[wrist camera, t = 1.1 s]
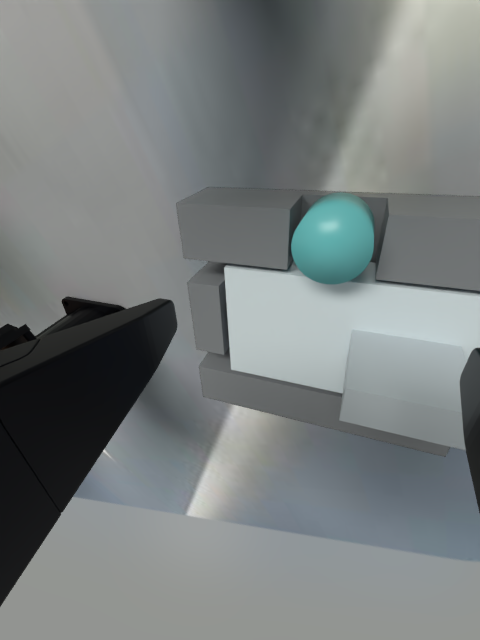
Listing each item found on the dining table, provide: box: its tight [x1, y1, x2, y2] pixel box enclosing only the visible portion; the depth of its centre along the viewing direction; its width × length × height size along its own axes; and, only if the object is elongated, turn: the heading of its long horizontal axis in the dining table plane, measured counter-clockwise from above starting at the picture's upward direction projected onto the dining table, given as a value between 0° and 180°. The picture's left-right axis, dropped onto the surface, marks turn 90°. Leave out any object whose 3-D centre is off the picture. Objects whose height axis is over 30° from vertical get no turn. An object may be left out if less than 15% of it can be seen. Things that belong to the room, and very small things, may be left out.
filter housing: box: [176, 187, 480, 457], centre depth 20 cm, size 16×14×4 cm
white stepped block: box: [224, 259, 480, 450], centre depth 17 cm, size 14×7×7 cm, turn 93°
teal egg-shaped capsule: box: [291, 192, 375, 285], centre depth 15 cm, size 3×3×3 cm
